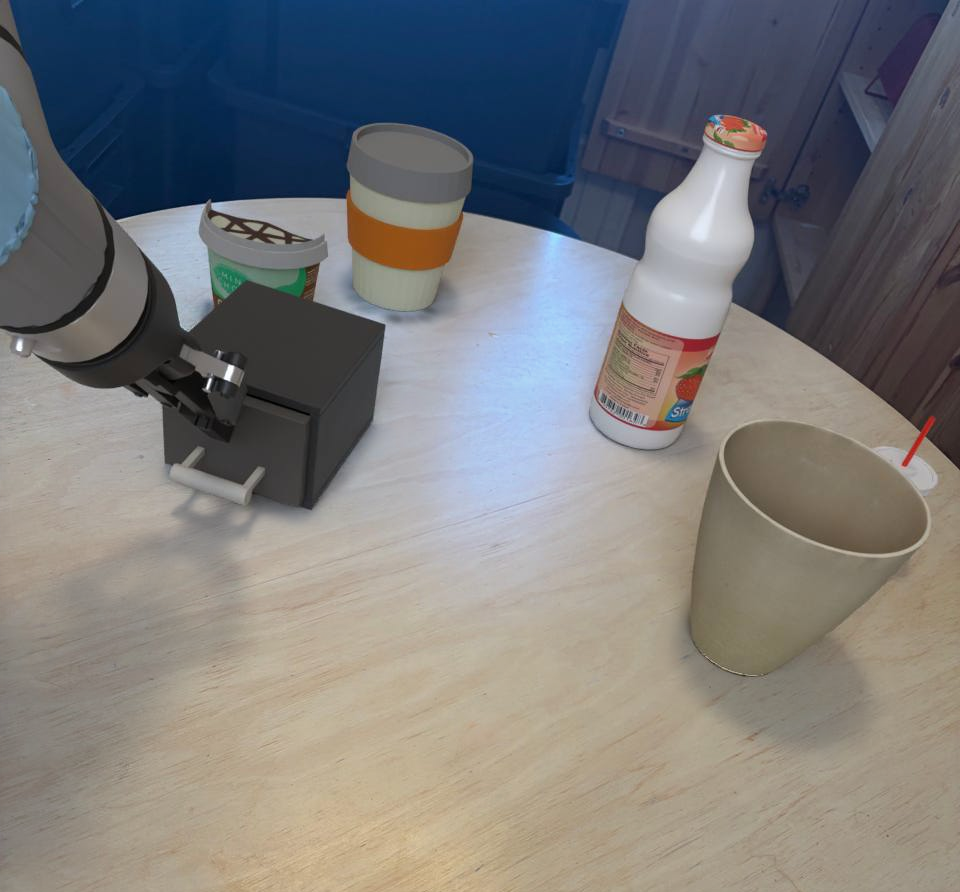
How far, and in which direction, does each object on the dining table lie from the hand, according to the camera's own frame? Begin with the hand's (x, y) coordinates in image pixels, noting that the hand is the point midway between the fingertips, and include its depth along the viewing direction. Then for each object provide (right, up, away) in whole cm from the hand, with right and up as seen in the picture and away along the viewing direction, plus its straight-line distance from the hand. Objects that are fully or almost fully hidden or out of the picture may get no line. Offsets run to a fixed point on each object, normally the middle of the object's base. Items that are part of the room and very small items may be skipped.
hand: (225, 423), depth 72 cm
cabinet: (+1, +1, +12) cm, 12 cm away
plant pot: (+39, -16, +5) cm, 43 cm away
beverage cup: (+53, -8, +18) cm, 56 cm away
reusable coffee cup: (+9, +22, +35) cm, 42 cm away
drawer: (0, -1, +9) cm, 9 cm away
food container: (-4, +14, +24) cm, 28 cm away
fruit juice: (+34, +5, +25) cm, 43 cm away
